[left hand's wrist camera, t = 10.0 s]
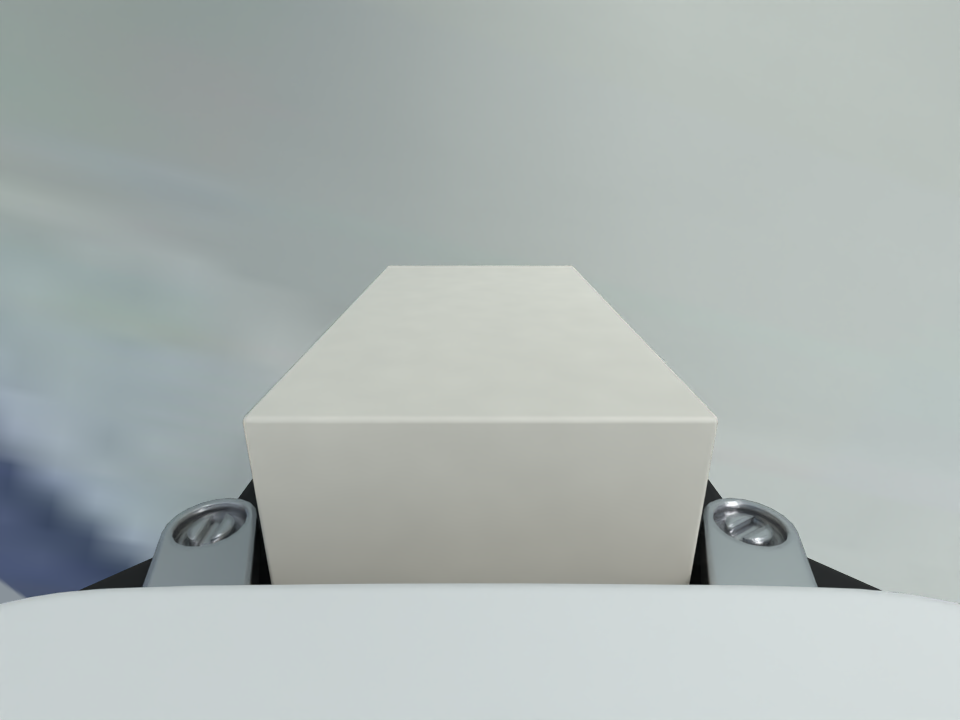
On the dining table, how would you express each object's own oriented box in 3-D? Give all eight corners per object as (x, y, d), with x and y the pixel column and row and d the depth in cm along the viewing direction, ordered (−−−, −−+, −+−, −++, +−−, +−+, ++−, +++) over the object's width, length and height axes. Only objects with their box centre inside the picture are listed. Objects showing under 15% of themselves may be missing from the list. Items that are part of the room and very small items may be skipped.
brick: (573, 265, 15) (720, 417, 6) (560, 459, 17) (654, 794, 8) (387, 265, 15) (238, 418, 6) (399, 459, 17) (306, 794, 8)
